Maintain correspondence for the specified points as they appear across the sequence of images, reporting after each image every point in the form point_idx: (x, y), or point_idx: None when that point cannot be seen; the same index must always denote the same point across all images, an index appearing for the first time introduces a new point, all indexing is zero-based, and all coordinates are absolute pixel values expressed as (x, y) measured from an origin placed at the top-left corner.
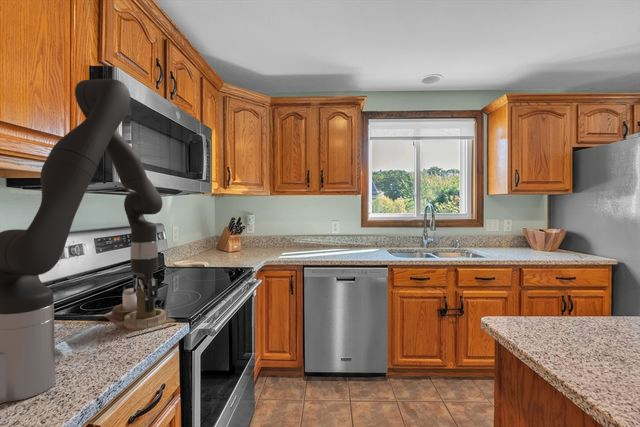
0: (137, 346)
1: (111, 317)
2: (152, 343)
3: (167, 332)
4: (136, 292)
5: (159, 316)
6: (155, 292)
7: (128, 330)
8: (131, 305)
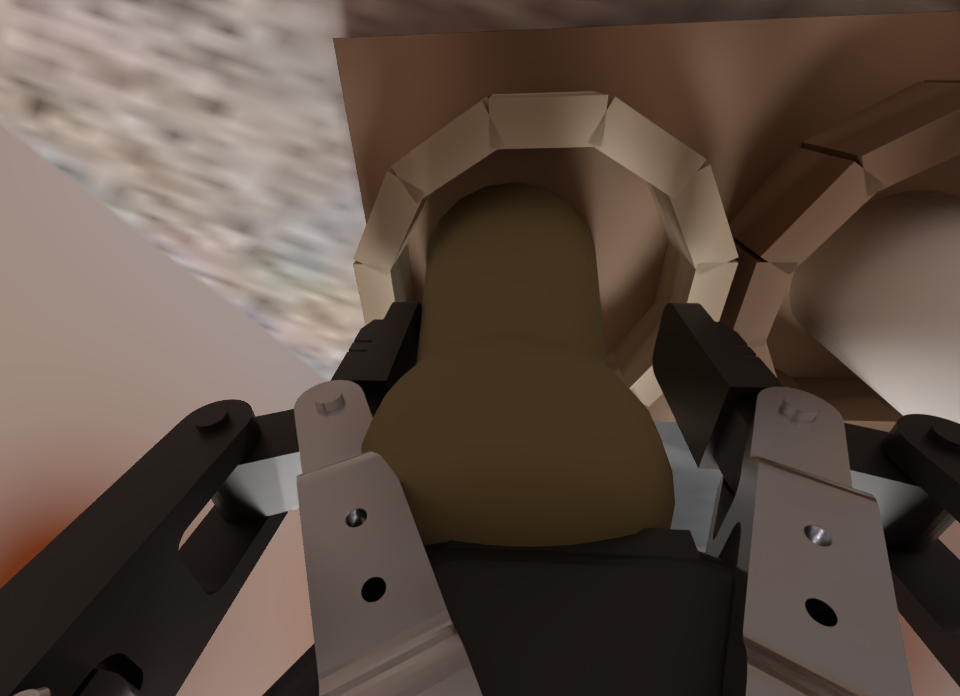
0: (125, 54)
1: None
2: (147, 171)
3: (315, 317)
4: (568, 401)
5: None
6: (199, 555)
7: (421, 79)
8: (897, 292)
